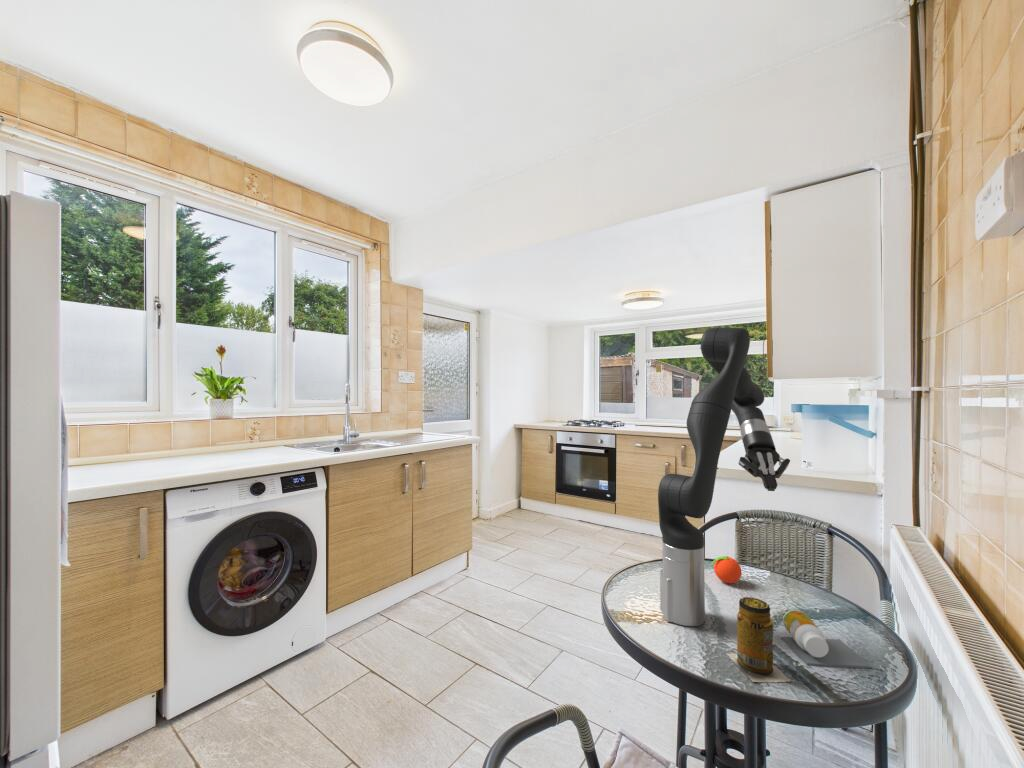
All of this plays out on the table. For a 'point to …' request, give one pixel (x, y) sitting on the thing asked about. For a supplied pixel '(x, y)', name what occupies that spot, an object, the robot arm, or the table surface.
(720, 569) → the clementine
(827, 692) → the table surface
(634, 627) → the table surface
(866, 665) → the mat
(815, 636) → the supplement bottle
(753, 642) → the condiment
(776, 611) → the table surface
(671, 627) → the table surface
